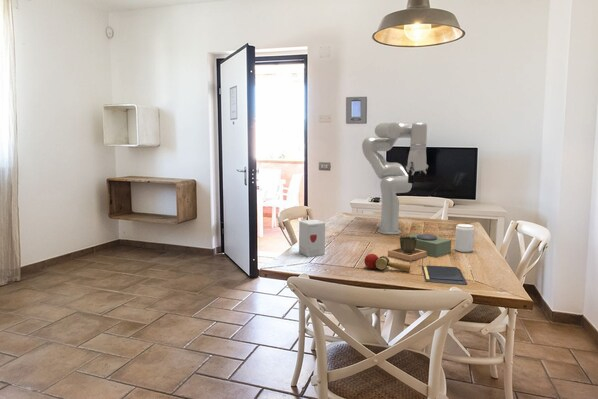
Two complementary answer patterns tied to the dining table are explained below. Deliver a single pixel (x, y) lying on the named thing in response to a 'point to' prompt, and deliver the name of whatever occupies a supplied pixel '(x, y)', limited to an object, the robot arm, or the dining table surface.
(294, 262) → the dining table surface
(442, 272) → the wallet
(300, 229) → the supplement box
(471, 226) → the beverage can
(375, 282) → the dining table surface
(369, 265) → the kendama
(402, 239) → the dark bronze domed piece
